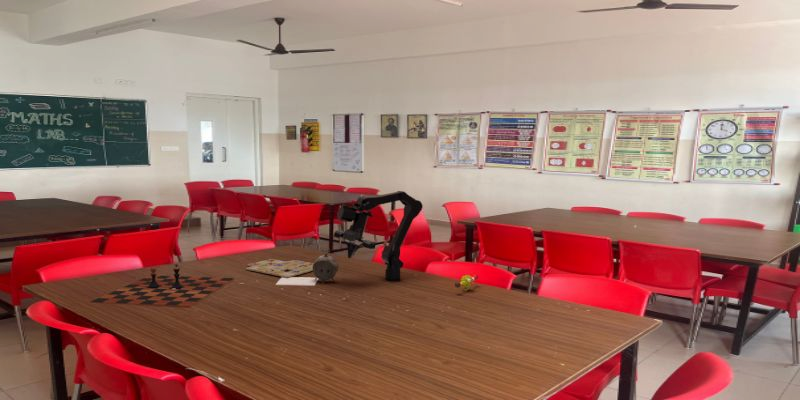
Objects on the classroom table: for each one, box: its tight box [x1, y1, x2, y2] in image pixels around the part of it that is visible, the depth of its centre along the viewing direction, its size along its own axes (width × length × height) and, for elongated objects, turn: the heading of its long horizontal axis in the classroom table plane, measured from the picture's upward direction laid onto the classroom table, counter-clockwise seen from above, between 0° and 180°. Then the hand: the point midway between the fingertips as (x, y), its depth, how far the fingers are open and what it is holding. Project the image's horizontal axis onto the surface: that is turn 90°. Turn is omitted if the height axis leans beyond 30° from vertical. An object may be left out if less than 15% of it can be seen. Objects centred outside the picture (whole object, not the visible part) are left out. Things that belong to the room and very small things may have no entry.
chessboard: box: [90, 263, 235, 308], centre depth 212 cm, size 40×40×11 cm
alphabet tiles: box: [245, 258, 314, 278], centre depth 253 cm, size 33×28×1 cm
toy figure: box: [454, 274, 479, 292], centre depth 220 cm, size 18×6×7 cm, turn 143°
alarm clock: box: [312, 246, 339, 284], centre depth 227 cm, size 11×5×16 cm, turn 84°
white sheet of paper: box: [275, 276, 319, 287], centre depth 229 cm, size 17×12×1 cm
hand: (349, 258), depth 225 cm, fingers closed
